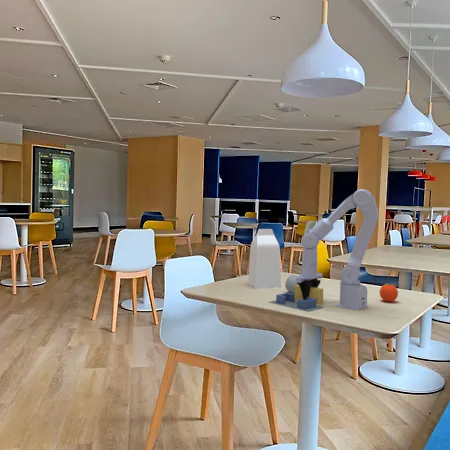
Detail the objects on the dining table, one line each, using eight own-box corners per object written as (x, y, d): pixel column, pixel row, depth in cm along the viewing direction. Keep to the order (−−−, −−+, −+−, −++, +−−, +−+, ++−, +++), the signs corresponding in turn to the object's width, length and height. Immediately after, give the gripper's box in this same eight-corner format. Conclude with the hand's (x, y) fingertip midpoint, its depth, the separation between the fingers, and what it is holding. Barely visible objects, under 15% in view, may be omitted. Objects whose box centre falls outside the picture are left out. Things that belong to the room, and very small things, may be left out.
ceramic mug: (295, 297, 187) (296, 278, 186) (284, 293, 194) (285, 275, 194) (316, 295, 191) (317, 277, 191) (305, 291, 199) (306, 274, 198)
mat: (324, 308, 169) (324, 307, 168) (308, 312, 162) (308, 311, 162) (284, 299, 182) (284, 298, 182) (267, 302, 175) (267, 302, 175)
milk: (255, 288, 202) (256, 230, 201) (248, 283, 213) (249, 228, 212) (281, 287, 205) (282, 230, 203) (272, 283, 216) (273, 228, 215)
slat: (322, 304, 175) (323, 288, 174) (317, 305, 172) (318, 290, 172) (299, 299, 182) (300, 284, 182) (294, 300, 180) (295, 285, 180)
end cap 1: (276, 302, 175) (276, 294, 174) (286, 300, 179) (286, 292, 179) (284, 304, 172) (284, 296, 172) (294, 302, 176) (294, 294, 176)
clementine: (373, 299, 185) (374, 282, 184) (387, 298, 187) (388, 281, 187) (387, 304, 177) (388, 285, 177) (401, 302, 180) (402, 284, 179)
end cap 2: (316, 306, 169) (316, 298, 169) (305, 309, 165) (306, 301, 165) (307, 304, 172) (307, 297, 172) (297, 307, 167) (297, 299, 167)
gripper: (312, 261, 184) (311, 294, 185) (289, 264, 174) (288, 299, 175) (327, 263, 179) (326, 297, 180) (304, 266, 169) (303, 302, 170)
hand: (308, 298), depth 177 cm, fingers closed on slat, 3 cm apart
